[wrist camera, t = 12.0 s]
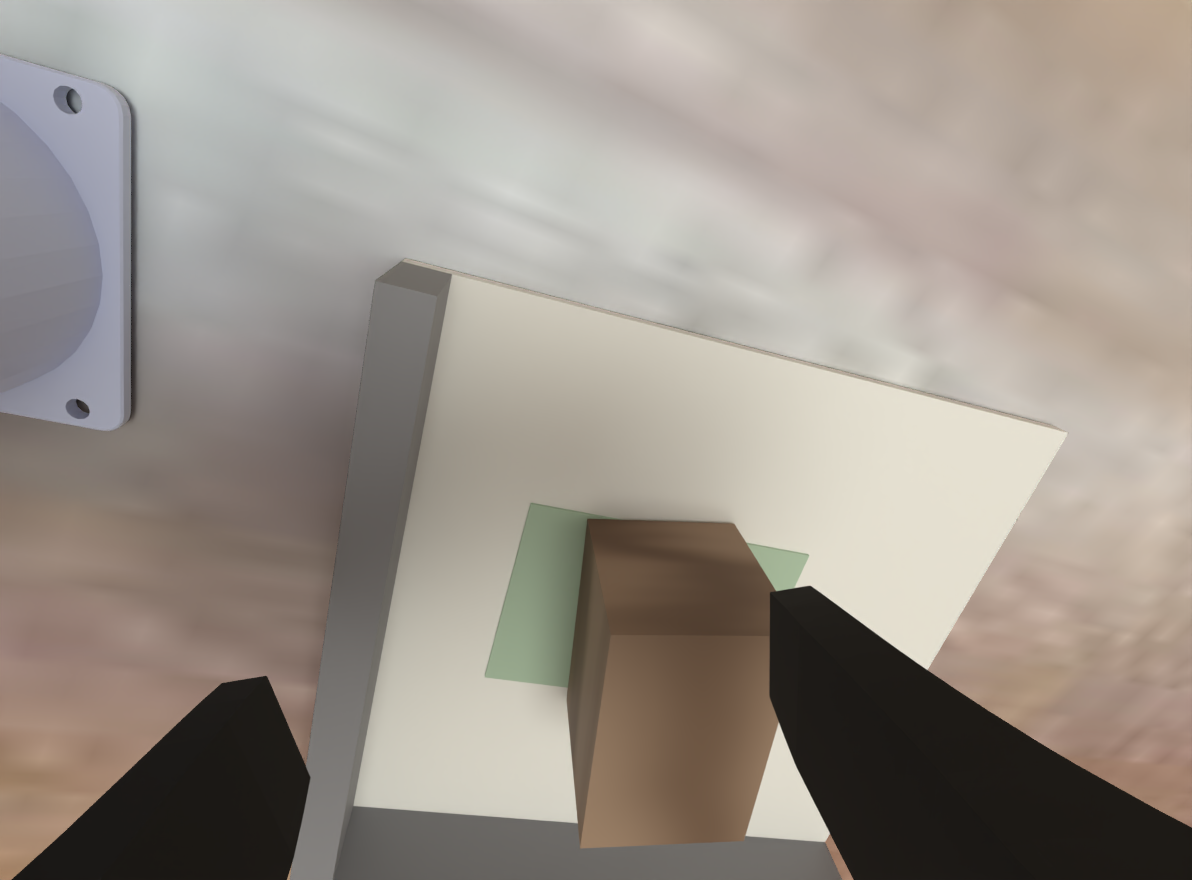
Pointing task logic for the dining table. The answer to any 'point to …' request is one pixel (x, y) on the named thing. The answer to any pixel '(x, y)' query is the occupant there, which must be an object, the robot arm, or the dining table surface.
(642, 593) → the walnut block
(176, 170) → the dining table surface
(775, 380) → the arena
